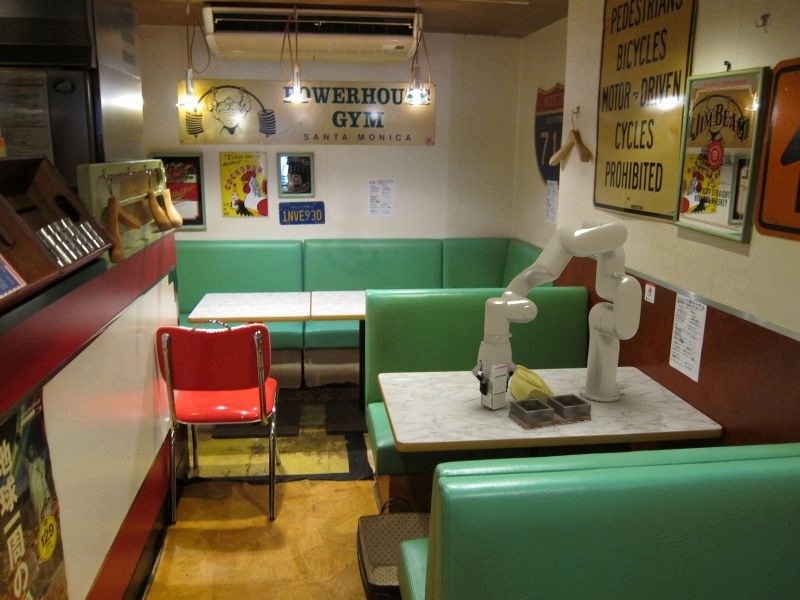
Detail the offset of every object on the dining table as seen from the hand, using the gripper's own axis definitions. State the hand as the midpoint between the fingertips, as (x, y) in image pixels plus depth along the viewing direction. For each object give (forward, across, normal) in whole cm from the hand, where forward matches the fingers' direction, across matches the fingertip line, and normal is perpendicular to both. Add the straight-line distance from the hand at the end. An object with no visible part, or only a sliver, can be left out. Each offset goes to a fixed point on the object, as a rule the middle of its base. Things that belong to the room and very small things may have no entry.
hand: (493, 392), depth 214 cm
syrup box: (+5, 0, 0) cm, 5 cm away
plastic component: (+6, -18, -6) cm, 20 cm away
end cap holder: (+5, -12, +13) cm, 19 cm away
